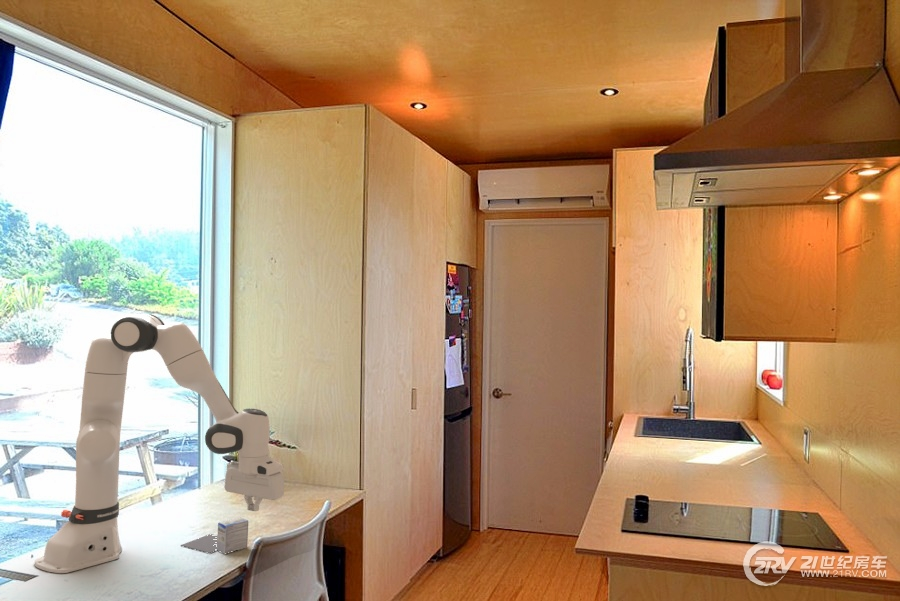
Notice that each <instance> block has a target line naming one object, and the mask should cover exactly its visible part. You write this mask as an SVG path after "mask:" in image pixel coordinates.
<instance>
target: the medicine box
mask: <svg viewBox="0 0 900 601" xmlns="http://www.w3.org/2000/svg"><path fill="white" fill-rule="evenodd" d="M248 537H249V520H248V519H246V518H244V517H241V516H239V517H235V518H232V519H231V518H230V519H227V520H223V521H220V522H218V523H217V550H218V551H221V552H223V553H224V554H223V555H226V554H225V553H228V552H231V551H235V550H238V551H240V550H239V549H241V550H244V549H243V548H245V549H248V543H249V542H248V541H249V540H248V539H249V538H248ZM218 551H217V552H218ZM235 552H236V551H235ZM228 554H229V553H228Z"/></svg>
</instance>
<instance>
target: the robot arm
mask: <svg viewBox="0 0 900 601" xmlns="http://www.w3.org/2000/svg"><path fill="white" fill-rule="evenodd" d="M149 350H154V351H156V352H157V353H158V354H159V356H161V358H162V360H163V362H164V364H165V366H166V368H167V370H168V372H169V374H170V375H171V377H172V379H173V380H174V381H175V382H176V383H177V385H178V386H180V387H182V388H184V389H189V390H191V391H193V392H195V393H196V394H198V395H200V397H202V398H203V401H204V402H205V403H206V406H207V407H208V409H209V411H210V412H211V414H212V416H213V418H214V419H215V422H214V424H212V425H211V426H210V427H208V429H207V430H206V433H205V434H204V435H205V436H204V440H205V441H204V442H205V444H206V448H207V449H208V450H209V451H210V452H212V453H213V454H217V455H226V454H231V453H235V452H237V453H238V461H236V460H230V461H228V463H227V466H226V471H225V476H224V477H225V478H224V490H225V491H226V492H227V493H233V494H237V495H243V496H244V500H245V503H246V505H247V506H246V507H247V511H250V512H251V511H252V512H258V511H259V510H260V504H261V503H262V500H263V499H264V500H269V501H270V500H271V501H278V500H280V499H282V498H283V496H284V494H285V479H284V475H283V473H282V471H283V470H284V466H283V463H281V462H279V461H277V460H276V459H274V458H273V457H272V456H270V450H269V443H270V440H271V439H270V438H271V436H270V435H271V431H270V420H269V415H268V414H267V413H266V412H265V411H264V410H261V409H258V408H243V409H242V410H241V411H238V410H237V409H236V408H235V407H234V405H233V404H232V402H231V400H230V398H229V397H228V395H227V393H226V392H225V389H224V388H223V387H222V385H221V383H220V381H219V379H218V378H217V376H216V374H215V372H214V370H213V368H212V366H211V364H210V362H209V360H208V358H207V356H206V354H205V352H204V350H203V347H202V346H201V344H200V342H199V341H198V339H197V337H196V336H195V334H194V333H193V332H192V330H191V329H190V327H189V326H188V325H187V324H185V323H183V322H177V321H175V322H174V321H173V322H170V323H167V324H165V323H164V321H163V320H162V319H161V318H159V317H158V316H156V315H154V314H147V313H135V314H134V313H133V314H127V315H124V316H122V317H120V318H119V319H118V320H116V321H115V323H114V324H113V325H112V328H111V330H110V333H105V334H104V333H103V334H101V335H97V336H95V338H93V339H92V341H91V343H90V346H89V349H88V353H87V357H86V362H85V368H84V378H83V387H82V394H81V409H80V411H81V412H80V422H79V423H80V424H79V430H78V436H77V438H76V440H75V441H76V442H75V501H74V504H75V505H73V507H72V510H68V509H63V510H62V511H61V512H60V515H61V517H63V518H66V519H68V521H67V522H66V523H65V524H64V525H63V526H62V527H61V528H60V529H59V530H58V531H57V532H55V534H53V535H52V536H51V537H50V538H49V539H48V540H47V541H46V544H45V549H44V554H43V556H41V557H39V558H36V559H35V560H34V567H36V568H38V569H39V570H43V571H45V572H48V573H49V572H50V573H55V574H68V573H71V572H75V571H78V570H82V569H86V568H90V567H93V566H97V565H101V564H104V563H107V562H108V563H109V562H112V561H115V560H118V559H119V558H120V555H119V554H121V552H122V551H123V548H122V545H121V541H120V535H119V534H120V533H119V527H118V526H119V524H118V517H119V513H120V502H119V501H118V499H119V498H118V497H119V473H120V472H119V470H120V469H119V468H120V466H119V465H120V444H121V442H120V441H121V430H122V429H121V428H122V419H123V411H124V404H125V403H124V402H125V394H126V386H127V385H126V384H127V373H128V363H129V360H130V358H131V356H132V354H134V353H141V352H142V353H143V352H146V351H149Z"/></svg>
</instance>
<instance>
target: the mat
mask: <svg viewBox="0 0 900 601" xmlns="http://www.w3.org/2000/svg"><path fill="white" fill-rule="evenodd" d="M210 534H211V535H210ZM207 535H208V536H207ZM212 535H214V533H213V534H212V533H209V534H206V535H204V536H201V537H198V538H199V539H198V538H196V539H194V540H190V541H188V542H185V543H183V544H180V547H182V546H184V547H183V548H186V547H188V548H187V549H190V548H191V549H190V550H193V549H196V550H195V551H197V550H199V551H198V552H201V551H203V552H202V553H205V552H208V553H211V552H213V551H215V549H217V547H216V545H214V544H217V543H215V542H217V540H213V539H217V538H215V537H217V536H218V535H217V536H212ZM213 545H214V546H213ZM208 553H207V554H208ZM213 553H214V552H213ZM211 554H212V553H211Z"/></svg>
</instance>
